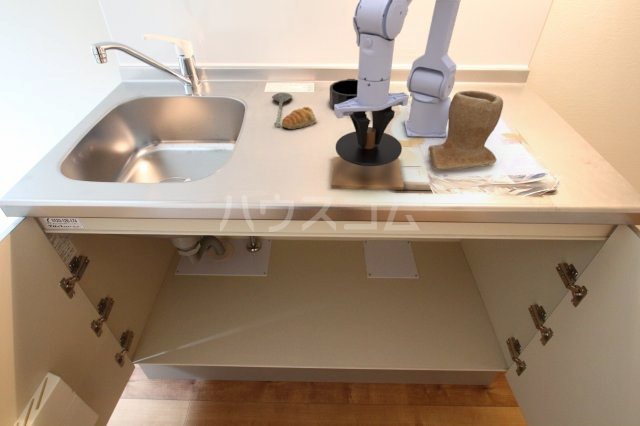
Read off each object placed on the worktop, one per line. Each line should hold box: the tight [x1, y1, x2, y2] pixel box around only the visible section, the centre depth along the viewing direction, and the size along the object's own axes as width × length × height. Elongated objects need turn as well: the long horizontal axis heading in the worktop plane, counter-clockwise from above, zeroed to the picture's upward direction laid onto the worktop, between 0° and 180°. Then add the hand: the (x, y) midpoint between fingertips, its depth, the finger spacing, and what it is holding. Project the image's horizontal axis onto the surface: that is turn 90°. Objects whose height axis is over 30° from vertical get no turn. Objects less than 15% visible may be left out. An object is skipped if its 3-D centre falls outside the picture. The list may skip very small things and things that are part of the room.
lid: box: [335, 126, 403, 166], centre depth 65 cm, size 14×14×5 cm
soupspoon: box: [271, 92, 293, 128], centre depth 96 cm, size 22×3×7 cm
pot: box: [329, 78, 358, 111], centre depth 96 cm, size 13×18×5 cm
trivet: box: [330, 156, 405, 191], centre depth 70 cm, size 15×11×1 cm
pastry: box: [281, 106, 317, 130], centre depth 88 cm, size 9×7×4 cm
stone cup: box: [428, 90, 504, 170], centre depth 69 cm, size 15×12×15 cm
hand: (368, 143), depth 65 cm, fingers closed on lid, 2 cm apart
